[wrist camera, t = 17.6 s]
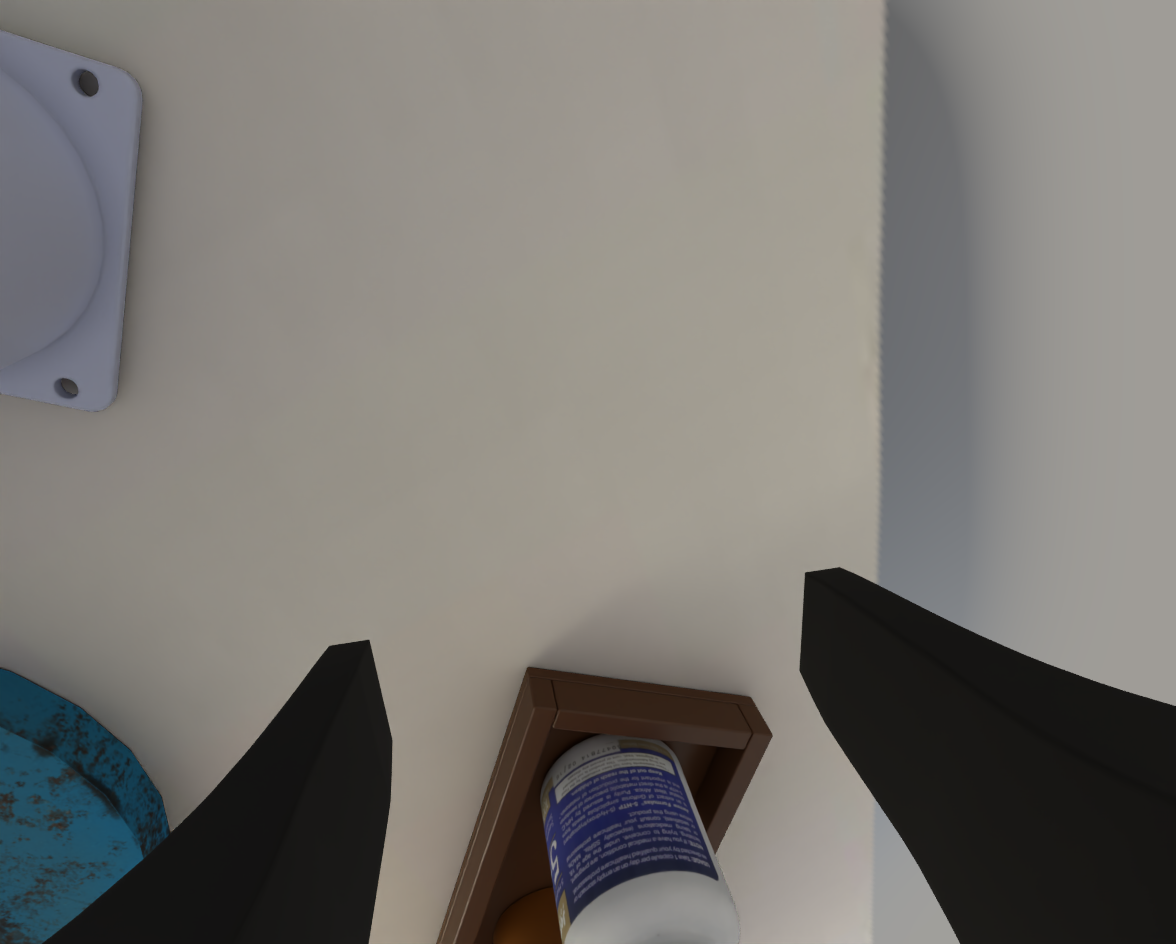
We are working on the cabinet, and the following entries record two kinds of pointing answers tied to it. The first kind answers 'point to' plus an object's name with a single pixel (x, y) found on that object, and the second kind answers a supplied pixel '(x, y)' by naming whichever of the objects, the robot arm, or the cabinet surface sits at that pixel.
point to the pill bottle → (631, 849)
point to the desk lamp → (64, 811)
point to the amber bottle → (530, 920)
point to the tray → (557, 723)
